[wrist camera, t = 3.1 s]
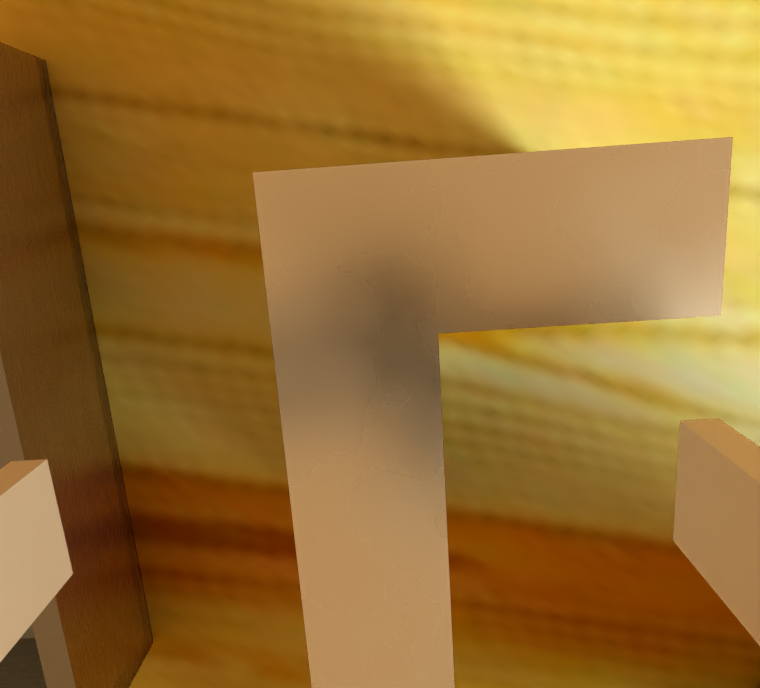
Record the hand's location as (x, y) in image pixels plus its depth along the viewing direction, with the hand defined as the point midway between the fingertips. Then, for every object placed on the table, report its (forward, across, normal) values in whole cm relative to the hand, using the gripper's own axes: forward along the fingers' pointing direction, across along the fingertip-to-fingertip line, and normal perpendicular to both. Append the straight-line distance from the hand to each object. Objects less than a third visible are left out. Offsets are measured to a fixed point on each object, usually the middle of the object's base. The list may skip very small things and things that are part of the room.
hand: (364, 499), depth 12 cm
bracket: (+11, -3, 0) cm, 11 cm away
